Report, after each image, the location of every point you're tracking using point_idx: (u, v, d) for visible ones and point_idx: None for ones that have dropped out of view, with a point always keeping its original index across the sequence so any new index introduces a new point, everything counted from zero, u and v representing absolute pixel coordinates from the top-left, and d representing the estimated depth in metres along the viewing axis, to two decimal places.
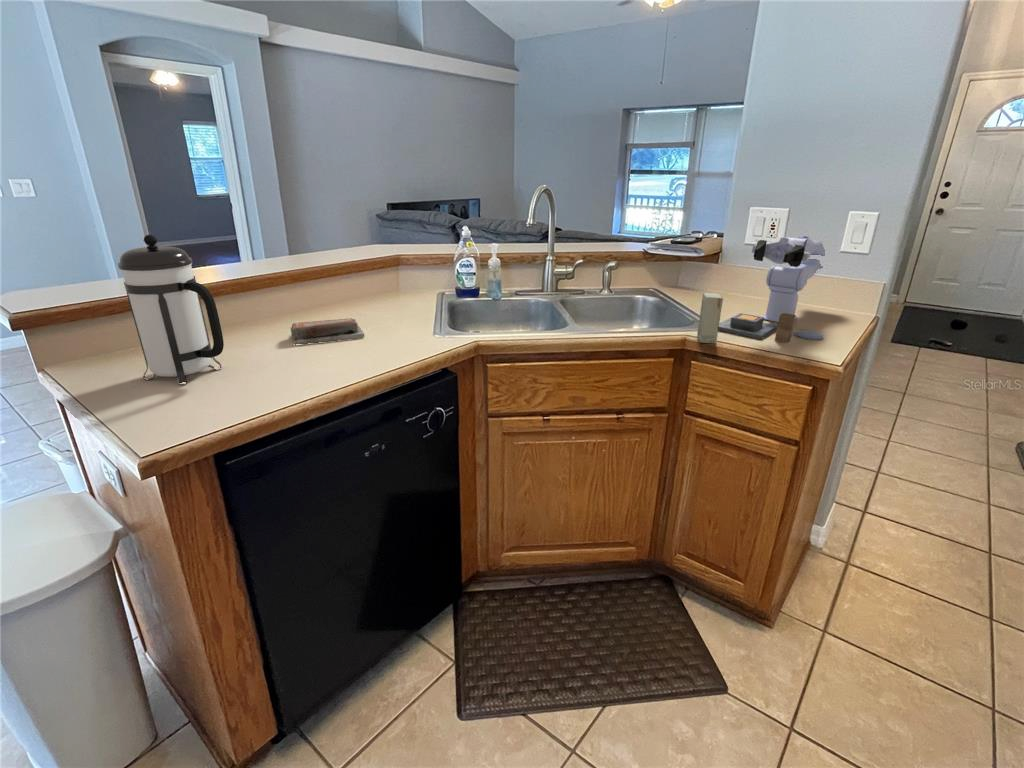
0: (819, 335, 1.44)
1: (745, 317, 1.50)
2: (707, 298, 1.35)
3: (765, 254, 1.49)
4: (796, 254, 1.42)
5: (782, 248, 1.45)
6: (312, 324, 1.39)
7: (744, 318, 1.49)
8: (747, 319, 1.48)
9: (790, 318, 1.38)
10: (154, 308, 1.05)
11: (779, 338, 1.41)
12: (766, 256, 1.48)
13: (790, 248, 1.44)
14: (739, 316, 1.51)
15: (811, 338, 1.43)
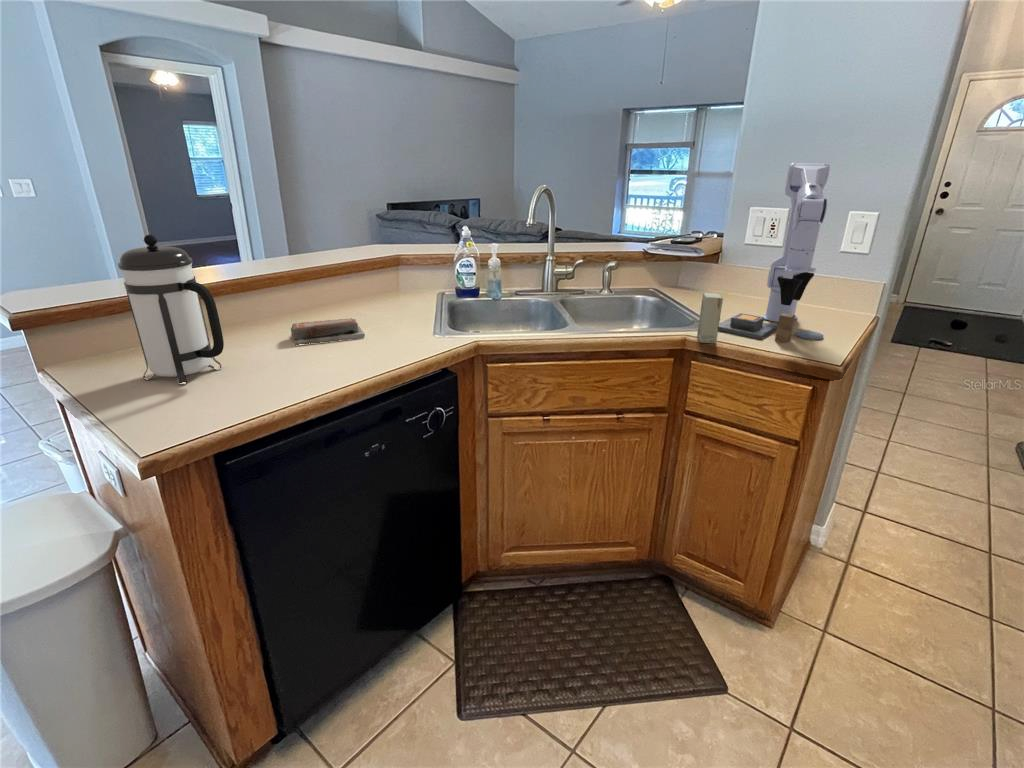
0: (819, 335, 1.44)
1: (745, 317, 1.50)
2: (707, 298, 1.35)
3: None
4: None
5: None
6: (312, 324, 1.39)
7: (744, 318, 1.49)
8: (747, 319, 1.48)
9: (790, 318, 1.38)
10: (154, 308, 1.05)
11: (779, 338, 1.41)
12: None
13: None
14: (739, 316, 1.51)
15: (811, 338, 1.43)
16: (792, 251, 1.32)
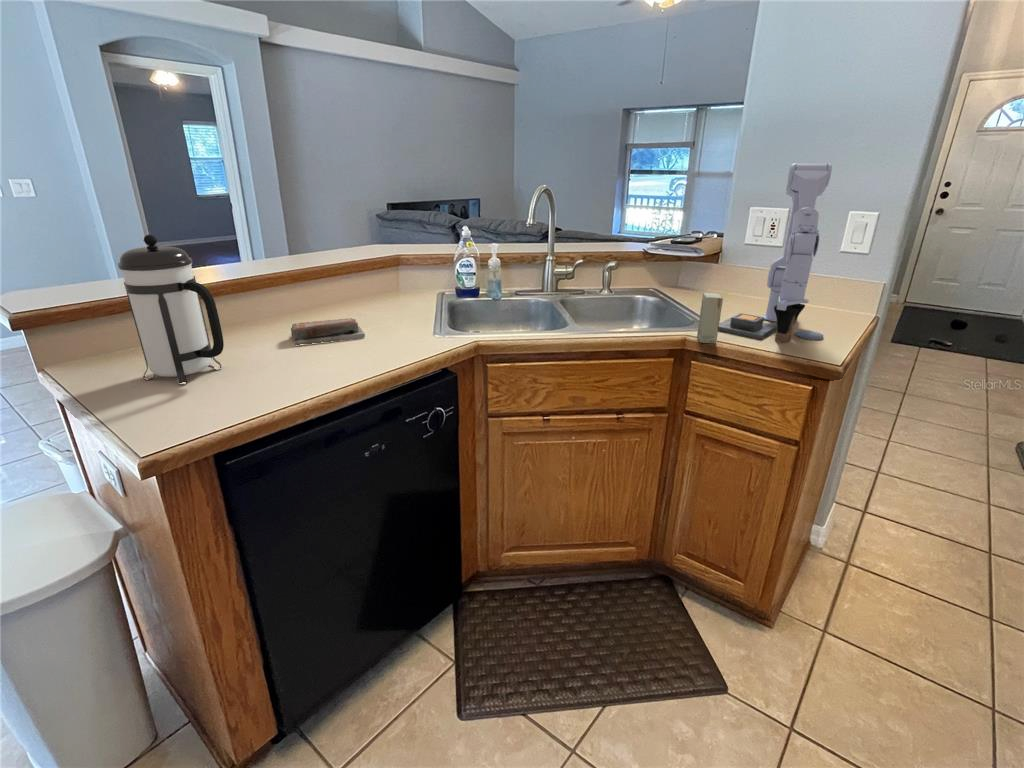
0: (819, 335, 1.44)
1: (745, 317, 1.50)
2: (707, 298, 1.35)
3: None
4: None
5: None
6: (312, 324, 1.39)
7: (744, 318, 1.49)
8: (747, 319, 1.48)
9: None
10: (154, 308, 1.05)
11: (779, 338, 1.41)
12: None
13: None
14: (739, 316, 1.51)
15: (811, 338, 1.43)
16: (785, 283, 1.35)
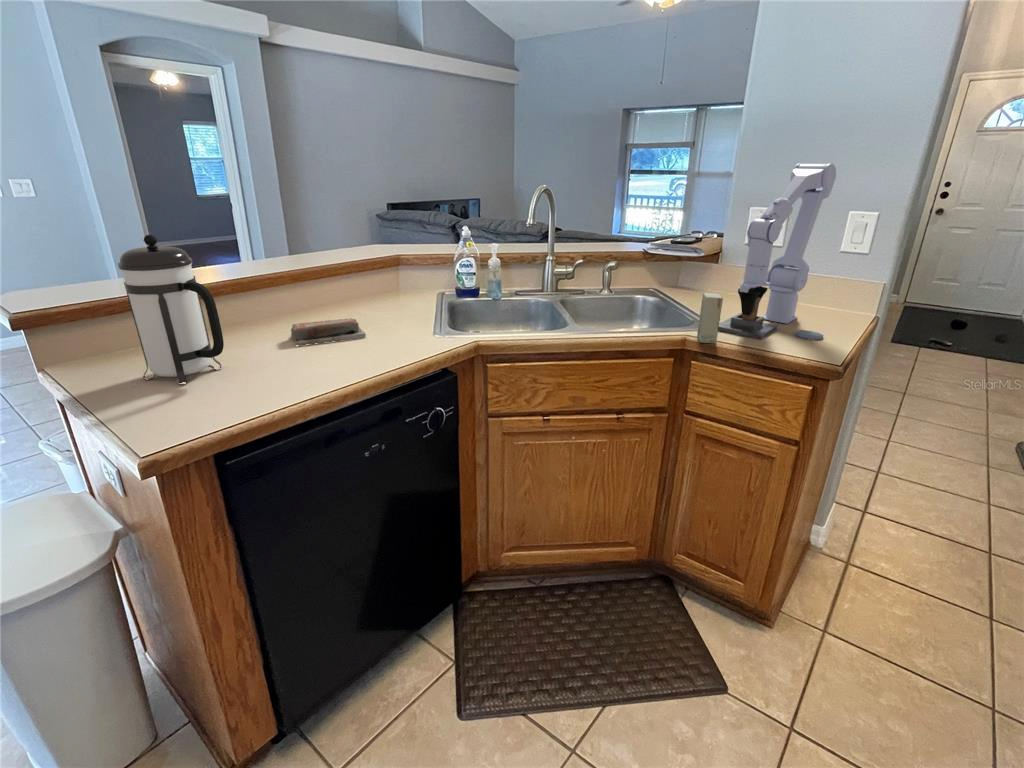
0: (819, 335, 1.44)
1: None
2: (707, 298, 1.35)
3: None
4: None
5: None
6: (313, 325, 1.38)
7: None
8: None
9: None
10: (154, 308, 1.05)
11: None
12: None
13: None
14: None
15: (811, 338, 1.43)
16: (748, 267, 1.44)
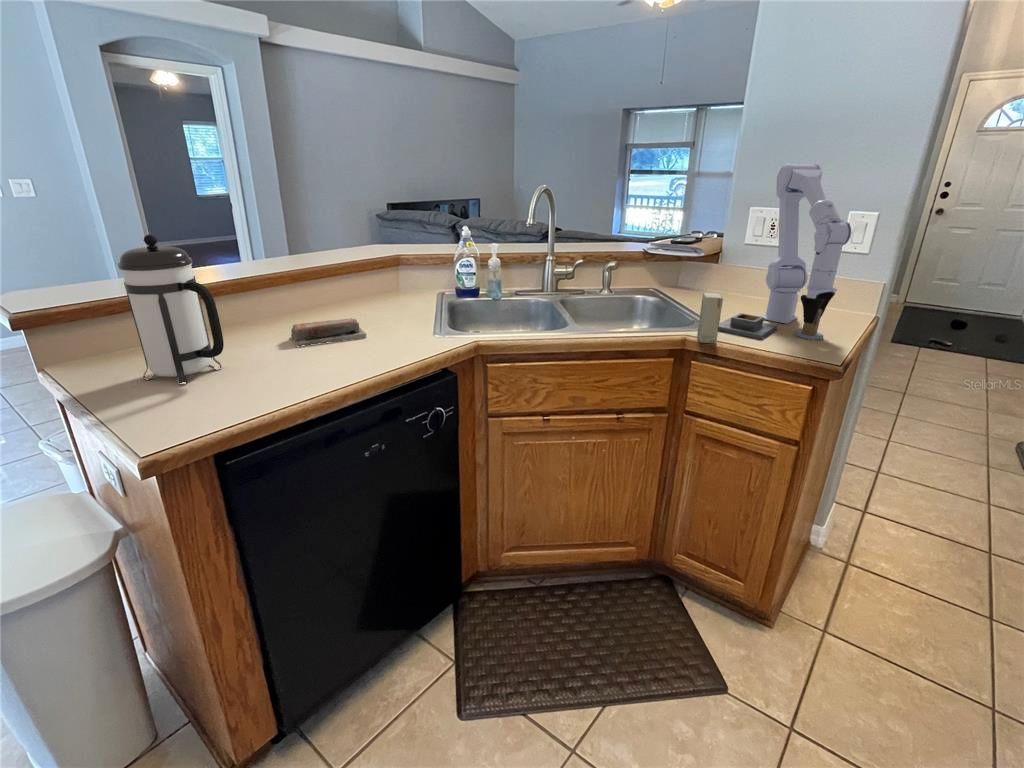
0: (819, 335, 1.44)
1: None
2: (707, 298, 1.35)
3: None
4: None
5: None
6: (313, 325, 1.38)
7: None
8: None
9: None
10: (154, 308, 1.05)
11: (805, 331, 1.45)
12: None
13: None
14: None
15: (811, 338, 1.43)
16: (815, 272, 1.38)
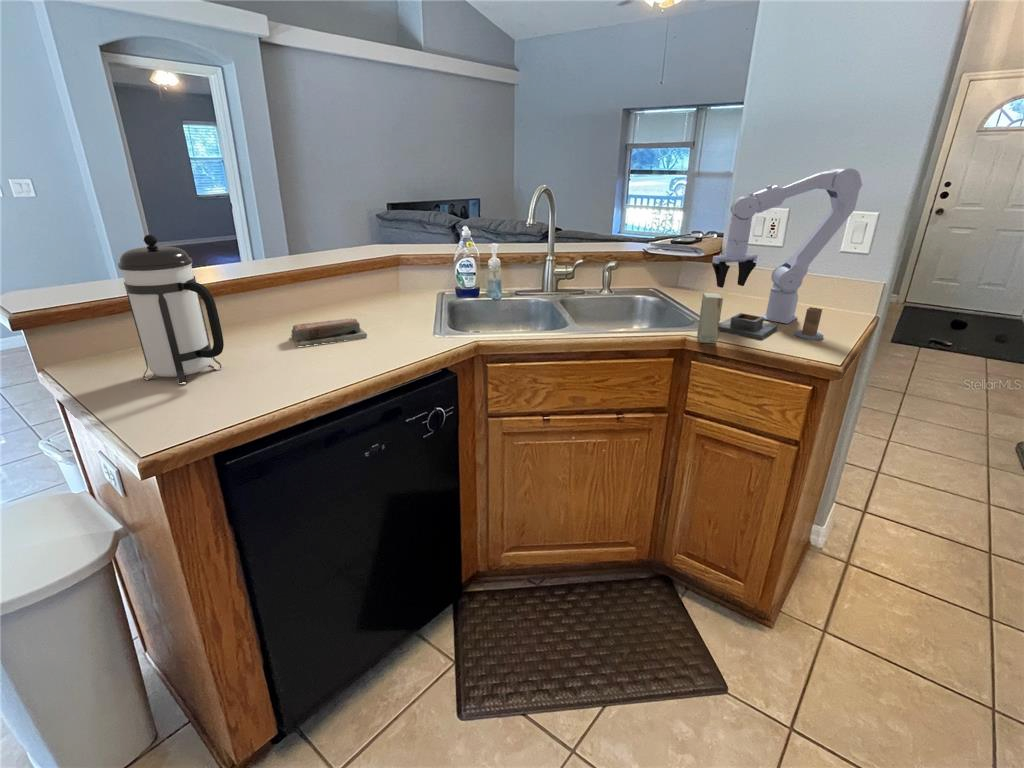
0: (819, 335, 1.44)
1: None
2: (707, 298, 1.35)
3: None
4: None
5: None
6: (314, 325, 1.38)
7: None
8: None
9: (817, 312, 1.41)
10: (154, 308, 1.05)
11: (805, 331, 1.45)
12: None
13: None
14: None
15: (811, 338, 1.43)
16: None
